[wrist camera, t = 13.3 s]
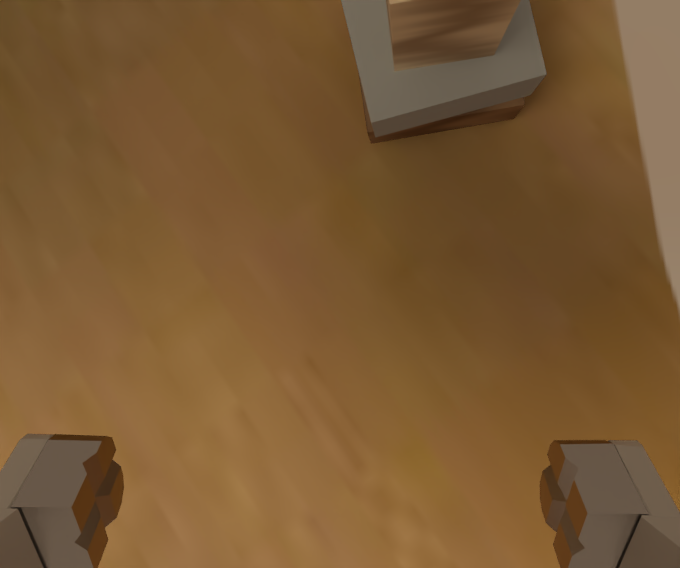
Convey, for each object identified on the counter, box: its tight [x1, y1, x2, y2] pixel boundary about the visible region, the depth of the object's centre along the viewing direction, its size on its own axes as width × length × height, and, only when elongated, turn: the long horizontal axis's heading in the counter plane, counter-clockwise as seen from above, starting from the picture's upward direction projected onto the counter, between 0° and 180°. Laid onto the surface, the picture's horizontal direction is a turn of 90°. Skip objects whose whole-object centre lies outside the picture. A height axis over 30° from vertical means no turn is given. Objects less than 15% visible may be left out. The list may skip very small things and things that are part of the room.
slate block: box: [341, 0, 547, 138], centre depth 32 cm, size 9×9×4 cm
